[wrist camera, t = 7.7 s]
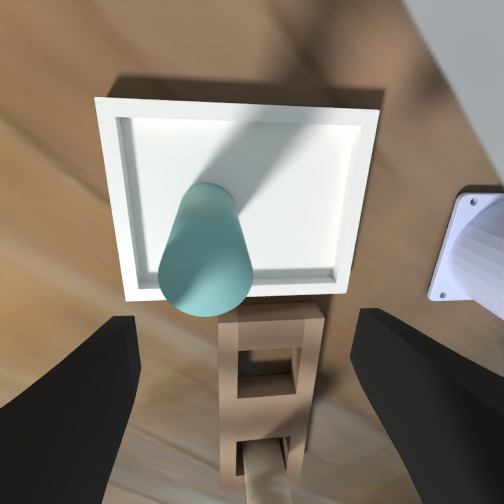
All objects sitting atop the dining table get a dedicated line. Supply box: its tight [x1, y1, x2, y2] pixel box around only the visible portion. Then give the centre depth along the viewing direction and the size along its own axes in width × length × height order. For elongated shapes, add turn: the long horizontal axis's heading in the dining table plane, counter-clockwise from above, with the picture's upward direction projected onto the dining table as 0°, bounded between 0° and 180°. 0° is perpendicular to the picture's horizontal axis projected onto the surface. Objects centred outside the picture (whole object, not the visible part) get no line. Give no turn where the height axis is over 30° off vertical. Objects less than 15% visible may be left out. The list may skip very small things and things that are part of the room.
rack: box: [218, 302, 325, 495], centre depth 24 cm, size 18×7×2 cm, turn 178°
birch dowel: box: [242, 437, 292, 504], centre depth 23 cm, size 3×3×8 cm
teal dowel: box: [158, 183, 253, 317], centre depth 14 cm, size 3×3×8 cm
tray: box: [94, 97, 380, 301], centre depth 17 cm, size 14×11×1 cm
